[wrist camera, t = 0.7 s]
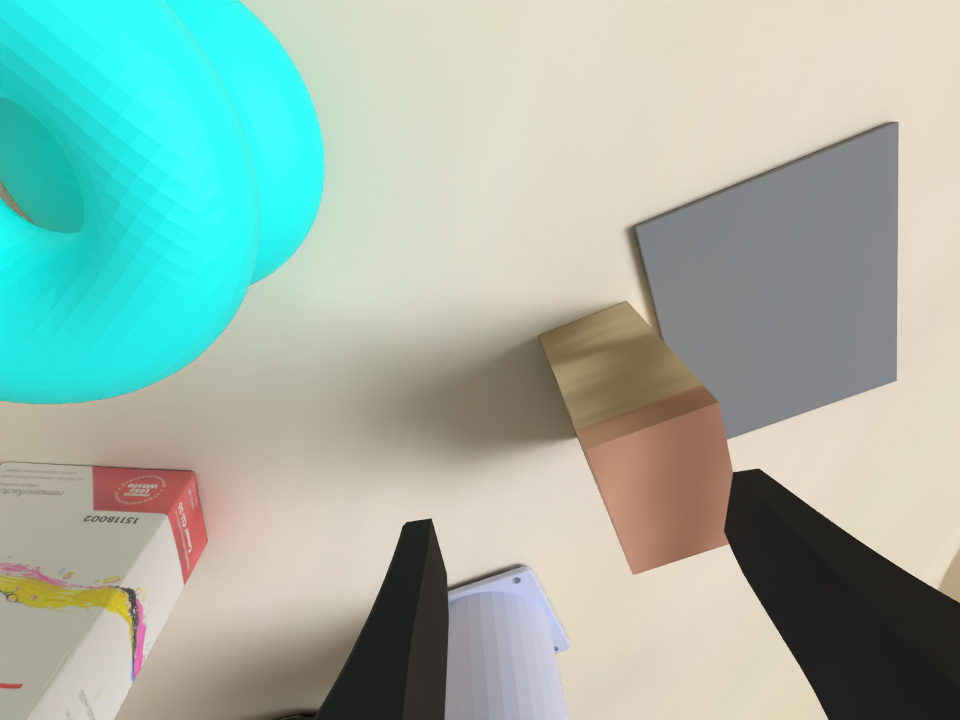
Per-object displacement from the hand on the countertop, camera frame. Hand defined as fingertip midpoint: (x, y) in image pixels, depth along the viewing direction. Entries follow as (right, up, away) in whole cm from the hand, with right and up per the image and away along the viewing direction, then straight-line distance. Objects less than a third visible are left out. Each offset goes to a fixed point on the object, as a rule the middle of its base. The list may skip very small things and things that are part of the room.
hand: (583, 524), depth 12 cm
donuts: (-13, +12, +6) cm, 18 cm away
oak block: (+3, +3, +11) cm, 12 cm away
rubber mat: (+10, +6, +10) cm, 16 cm away
